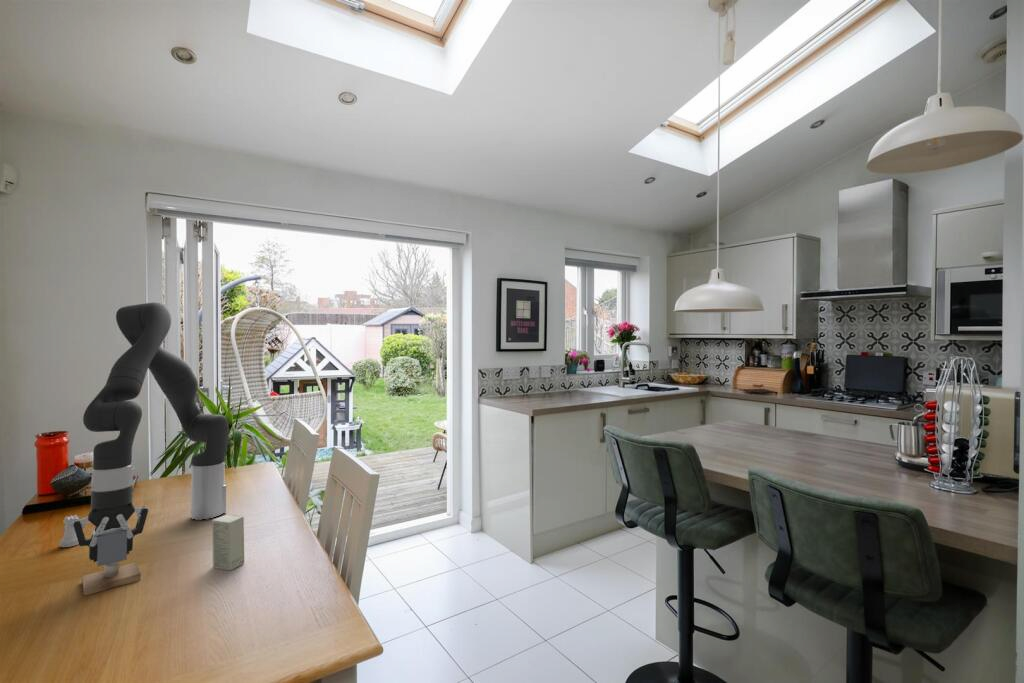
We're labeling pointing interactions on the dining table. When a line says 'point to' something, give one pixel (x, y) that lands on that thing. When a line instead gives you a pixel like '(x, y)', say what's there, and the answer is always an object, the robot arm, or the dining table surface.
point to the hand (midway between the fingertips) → (111, 556)
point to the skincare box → (228, 541)
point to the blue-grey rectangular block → (112, 546)
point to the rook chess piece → (69, 533)
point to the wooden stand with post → (110, 577)
